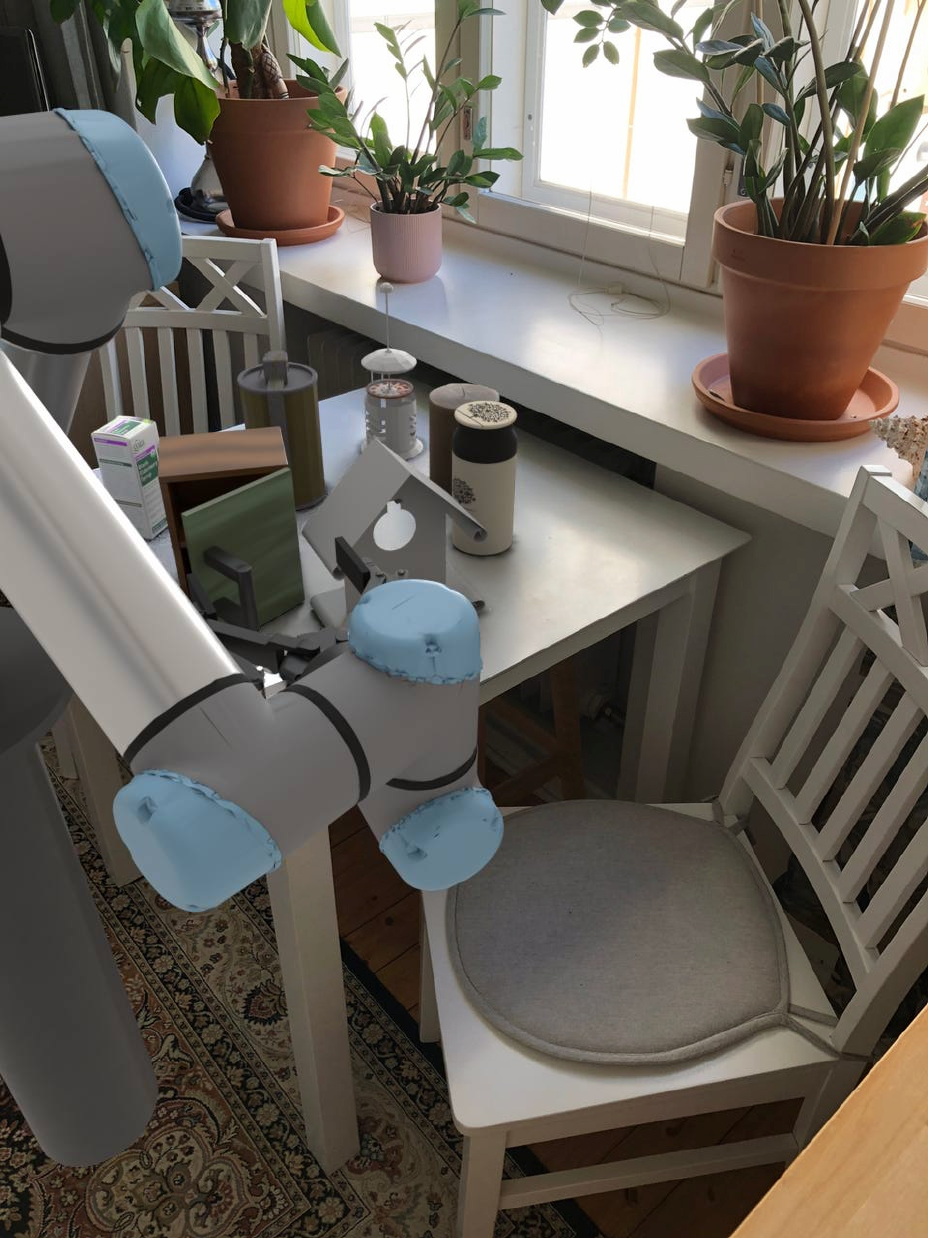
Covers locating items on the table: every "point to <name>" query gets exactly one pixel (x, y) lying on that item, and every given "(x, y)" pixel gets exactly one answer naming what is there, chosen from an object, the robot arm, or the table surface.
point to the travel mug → (485, 473)
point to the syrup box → (132, 471)
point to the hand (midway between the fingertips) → (268, 567)
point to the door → (248, 551)
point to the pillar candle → (449, 426)
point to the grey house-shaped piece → (358, 513)
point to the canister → (288, 418)
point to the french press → (391, 399)
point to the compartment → (211, 475)
